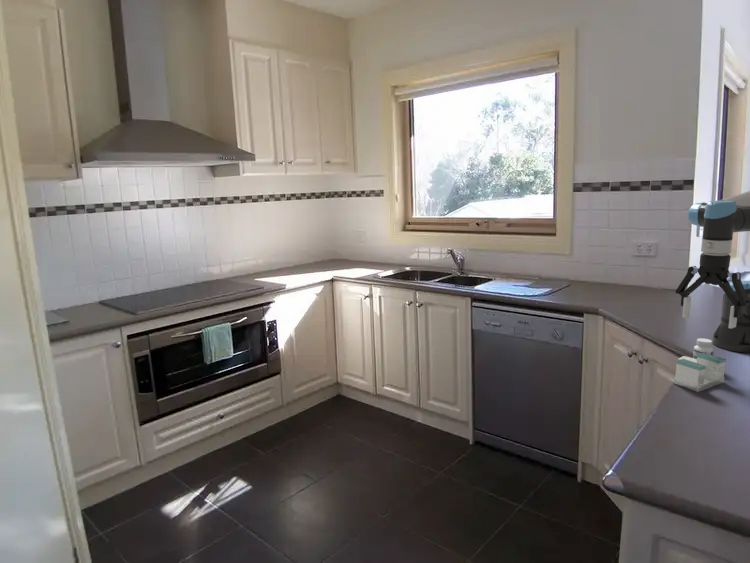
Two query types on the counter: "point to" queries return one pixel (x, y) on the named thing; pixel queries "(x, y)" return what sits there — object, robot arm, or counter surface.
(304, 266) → the counter surface
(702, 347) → the pill bottle
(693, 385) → the teal white block
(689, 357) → the block
